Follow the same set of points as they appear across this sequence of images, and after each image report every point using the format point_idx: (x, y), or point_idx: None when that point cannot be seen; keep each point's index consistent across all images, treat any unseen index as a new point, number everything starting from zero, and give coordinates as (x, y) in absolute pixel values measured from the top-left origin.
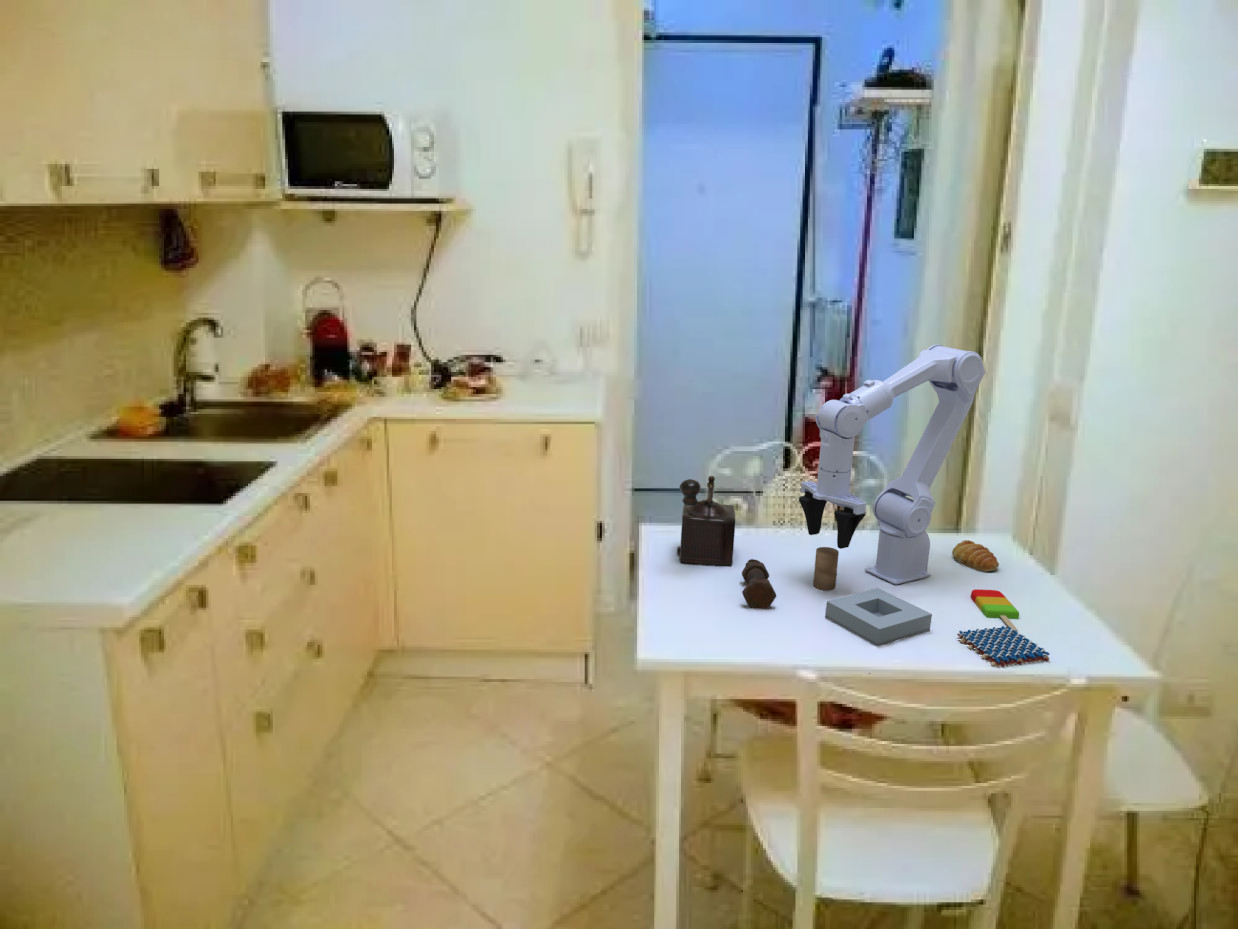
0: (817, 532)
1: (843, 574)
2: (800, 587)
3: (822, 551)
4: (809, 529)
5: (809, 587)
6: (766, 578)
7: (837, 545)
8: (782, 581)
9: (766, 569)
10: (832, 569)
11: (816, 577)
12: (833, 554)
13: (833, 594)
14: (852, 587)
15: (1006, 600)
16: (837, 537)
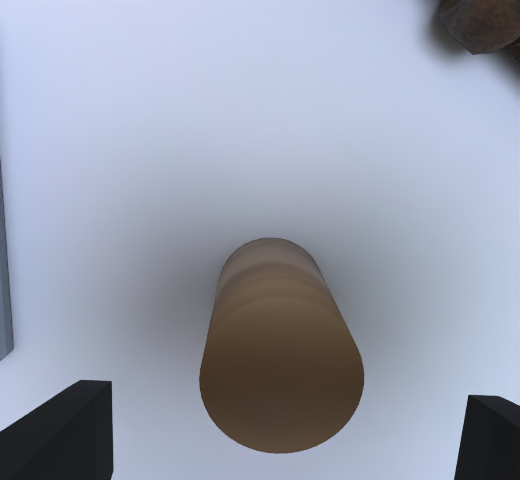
0: (462, 473)
1: (323, 455)
2: (324, 182)
3: (294, 344)
4: (510, 414)
5: (301, 221)
6: (446, 11)
7: (106, 387)
8: (427, 157)
9: (500, 39)
10: (210, 321)
11: (281, 253)
12: (207, 370)
13: (182, 260)
14: (198, 388)
15: None
16: (64, 425)
